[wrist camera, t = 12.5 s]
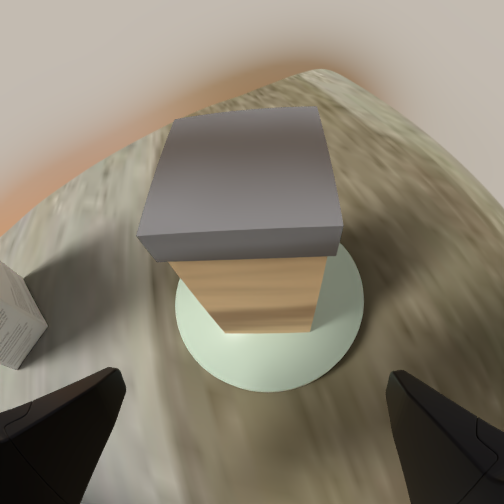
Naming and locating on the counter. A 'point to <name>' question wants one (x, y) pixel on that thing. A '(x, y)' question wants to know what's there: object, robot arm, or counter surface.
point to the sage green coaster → (278, 336)
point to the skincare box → (17, 319)
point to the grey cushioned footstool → (247, 215)
